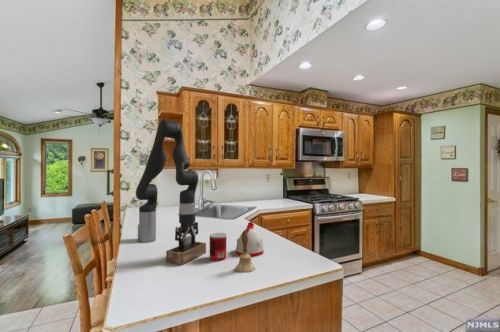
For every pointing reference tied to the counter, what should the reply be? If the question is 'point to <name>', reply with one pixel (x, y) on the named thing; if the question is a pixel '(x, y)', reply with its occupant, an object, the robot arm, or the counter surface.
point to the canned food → (217, 246)
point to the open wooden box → (185, 254)
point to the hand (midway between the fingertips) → (187, 246)
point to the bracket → (187, 243)
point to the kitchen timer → (250, 242)
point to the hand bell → (245, 257)
